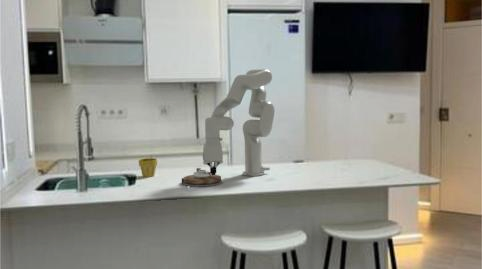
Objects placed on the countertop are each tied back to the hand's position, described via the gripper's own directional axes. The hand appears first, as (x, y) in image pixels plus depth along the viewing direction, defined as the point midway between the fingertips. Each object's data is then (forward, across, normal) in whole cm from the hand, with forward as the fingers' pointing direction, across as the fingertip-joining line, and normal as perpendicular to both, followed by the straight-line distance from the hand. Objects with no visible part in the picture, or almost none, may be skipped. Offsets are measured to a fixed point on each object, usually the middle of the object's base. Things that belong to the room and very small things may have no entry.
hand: (213, 174), depth 262 cm
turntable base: (+4, +6, 0) cm, 7 cm away
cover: (+1, +6, 0) cm, 6 cm away
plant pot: (+4, +31, -31) cm, 44 cm away
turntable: (+3, +6, 0) cm, 7 cm away
